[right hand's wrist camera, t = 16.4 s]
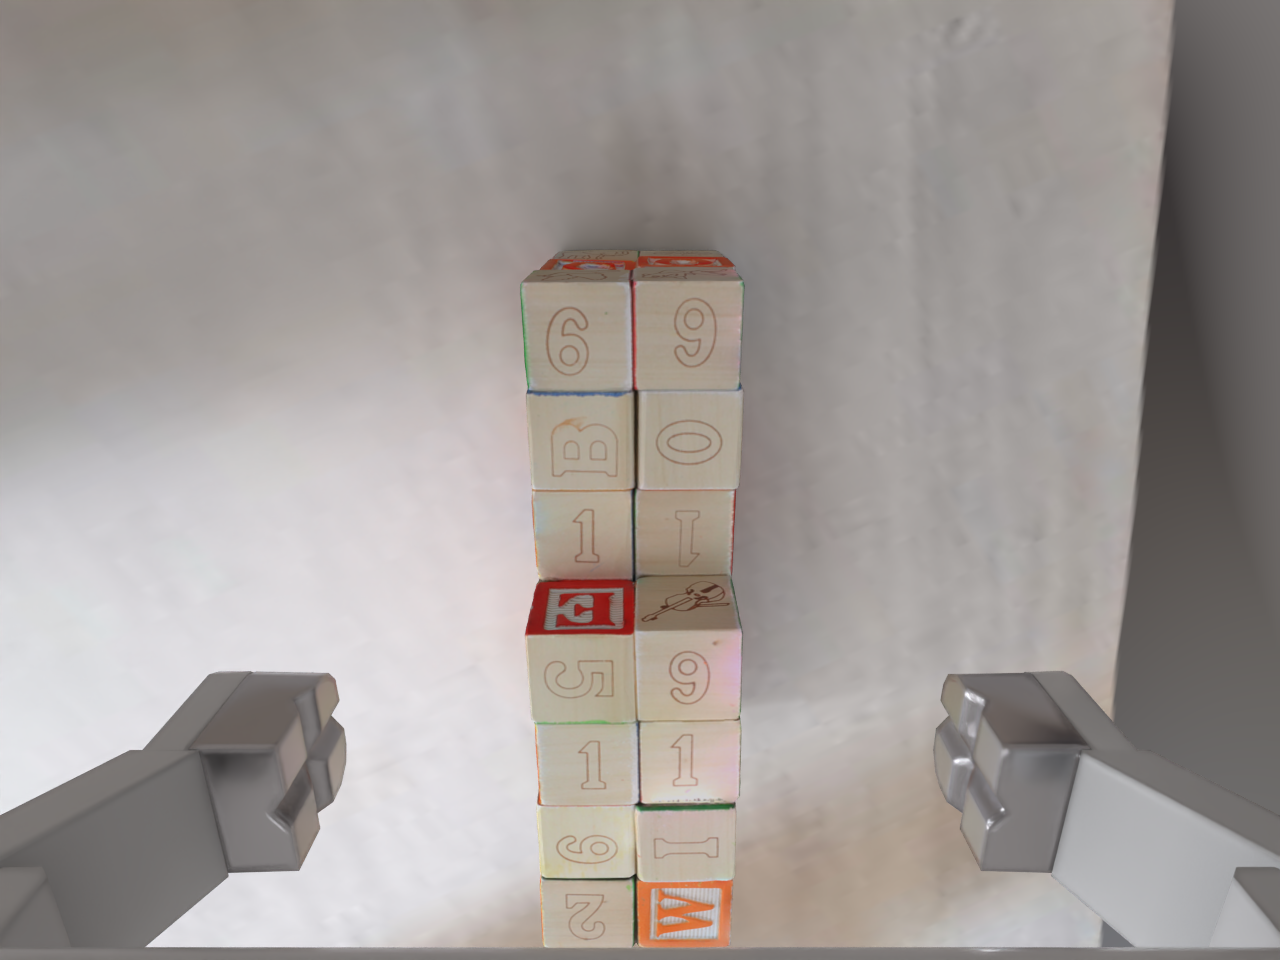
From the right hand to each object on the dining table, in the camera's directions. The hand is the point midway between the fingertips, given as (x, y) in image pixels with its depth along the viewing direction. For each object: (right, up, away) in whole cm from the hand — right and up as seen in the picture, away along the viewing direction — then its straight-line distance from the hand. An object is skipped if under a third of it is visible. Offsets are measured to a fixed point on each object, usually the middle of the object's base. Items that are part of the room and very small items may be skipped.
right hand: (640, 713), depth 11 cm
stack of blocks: (0, +2, +23) cm, 23 cm away
